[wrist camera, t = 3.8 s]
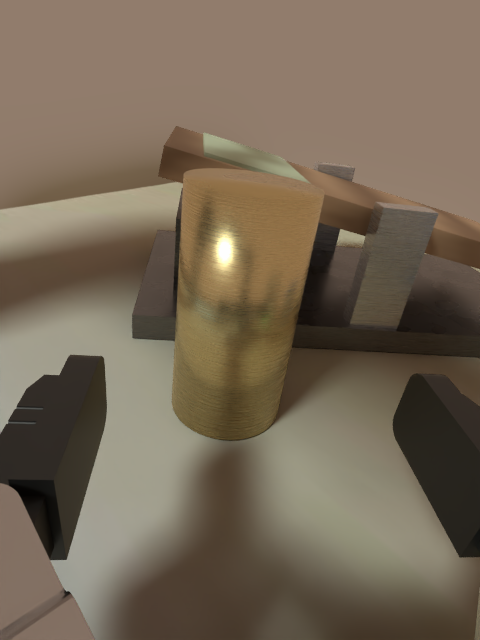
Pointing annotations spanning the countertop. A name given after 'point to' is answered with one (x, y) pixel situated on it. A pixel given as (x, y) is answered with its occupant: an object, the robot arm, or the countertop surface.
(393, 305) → the pivot stand
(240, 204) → the cylinder
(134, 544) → the countertop surface
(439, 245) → the plank
